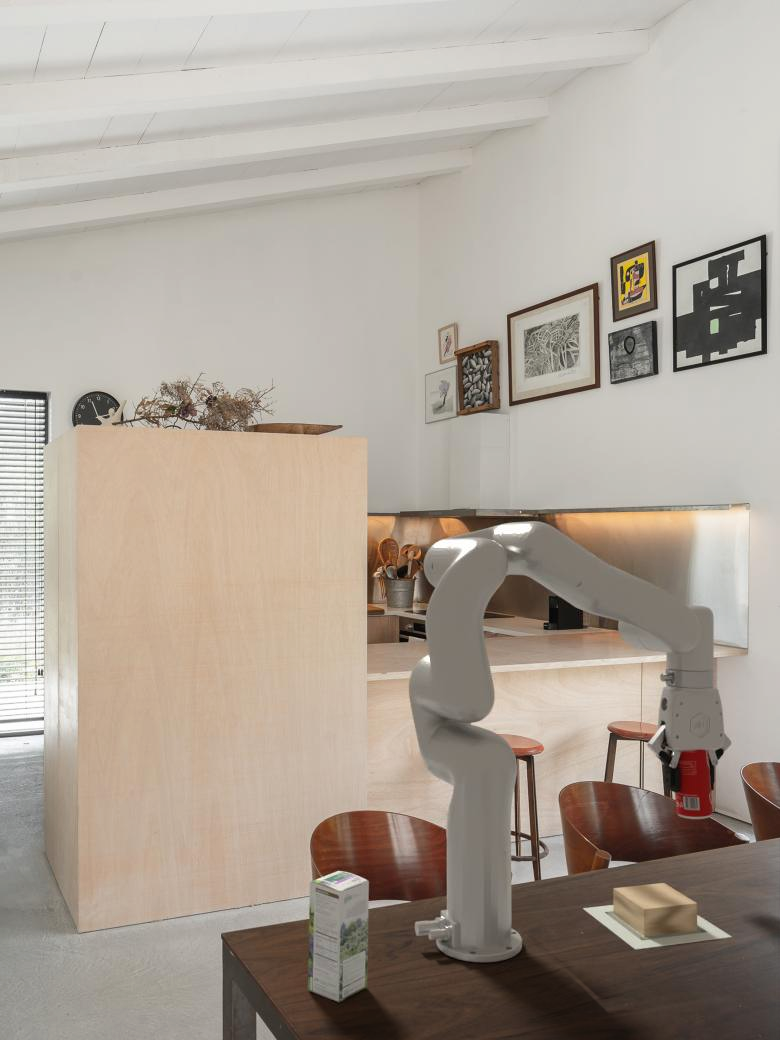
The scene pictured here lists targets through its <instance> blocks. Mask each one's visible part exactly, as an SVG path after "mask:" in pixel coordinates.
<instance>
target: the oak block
mask: <svg viewBox="0 0 780 1040" xmlns="http://www.w3.org/2000/svg"><path fill="white" fill-rule="evenodd" d="M612 891H613V893H612V894H613V895H612V896H613V897H612V898H613V899H612V900H613V904H612V905H613V912H614V915H615V916H617V917H618V918H619V919H621V920H622V921H623V922H625V923H626V924H627V925H629V926H630V927H631V928H633V929H634V930H636V931H637V932H638V933H640V934H641V935H642V936H644V937H647V936H655V935H663V934H671V933H679V932H687V931H695V930H697V915H698V903H697V902H696V901H694V900H692V899H691V898H689V897H687V895H685V894H683V893H681V892H680V891H678V890H676V889H675V888H673V887H672V886H669V884H667V883H665V882H661V883H651V884H650V883H649V884H641V885H633V886H622V887H614V888H613V890H612Z"/></svg>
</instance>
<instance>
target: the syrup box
mask: <svg viewBox="0 0 780 1040" xmlns="http://www.w3.org/2000/svg"><path fill="white" fill-rule="evenodd" d="M369 887H370V881H369V880H368V879H366V878H364V877H361V876H359V875H357V874H354V873H352V872H348V871H341V870H337V871H334V872H332V873H329V874H327V875H324V876H322V877H319V878H317V879H314V880H311V881H310V882H309V908H308V910H309V911H308V912H309V913H308V916H309V918H308V967H307V968H308V970H307V971H308V975H307V977H308V978H307V979H308V980H307V988H308V991H309V992H312V993H314V994H317V995H320V996H322V997H325V998H326V999H329V1000H333V1001H335V1002H338V1003H341V1002H343V1001H345V1000H346V999H348V998H350V997H351V996H354V995H355V994H357V993H359V992H361V991H363V990H364V989H367V987H368V966H369V965H368V963H369V961H368V960H369V959H368V957H369V956H368V954H369V953H368V952H369V904H370V903H369V900H370V899H369V896H370V895H369V894H370V893H369V890H370V888H369Z"/></svg>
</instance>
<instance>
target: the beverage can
mask: <svg viewBox="0 0 780 1040" xmlns="http://www.w3.org/2000/svg"><path fill="white" fill-rule="evenodd" d="M677 768H679V769H680V791H679V792H678V793H675V792H674V797H675V798H674V800H675V810H676V811H675V812H676V814H677V815H678V816H679V817H680V818H684V819H689V820H703V819H709V818H710V817H712V815H713V801H712V800H713V798H712V790H711V781H710V767H709V752H708V750H695V751H681V754H680V757H679V760H678V763H677Z"/></svg>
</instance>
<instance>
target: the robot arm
mask: <svg viewBox="0 0 780 1040" xmlns="http://www.w3.org/2000/svg"><path fill="white" fill-rule="evenodd" d="M423 571H424V575H425V577H426V580H427V581H428V582H429V584H430V585H432V587H434V590H433V591H432V594H431V596H430V598H429V601H428V603H427V608H426V613H425V623H424V625H425V636H426V641H427V642H426V644H427V651H428V654H426V655H424V656H423V657H422V658H421V659H419V660H417V663H416V664H414V666H413V668H412V671H411V674H410V677H409V681H408V696H409V703H410V709H411V713H412V719H413V725H414V729H415V734H416V739H417V744H418V748H419V753H420V755H421V759H422V761H423V764H424V765H425V768H427V770H428V771H429V772H430V774H431V775H433V776H434V777H435V778H437V779H439V780H441V781H443V782H445V783H447V784H450V785H451V786H452V787H453V790H452V795H451V799H450V802H449V805H448V810H447V814H446V823H445V825H446V827H445V828H446V829H445V831H446V909H443V910H440V916H439V917H437V916H436V917H434V918H435V919H434V920H420V921H415V922H414V931H415V936H417V937H418V936H419V937H420V936H428V939H429V941H433V940H435V941H436V946H437V948H438V949H439V950H440V951H441V952H442V953H443V954H445V955H446V956H449V957H451V958H453V959H456V960H460V961H464V962H469V963H470V962H472V963H494V962H501V961H504V960H508V959H511V958H513V957H515V956H517V955H518V954H519V953H520V952H521V950H522V948H523V938H522V936H521V935H520V933H519V932H518V931H517V930H515V929H514V928H512V837H511V836H512V807H513V806H512V805H513V796H514V792H515V786H516V780H517V774H518V767H517V766H518V764H517V763H518V762H517V758H516V754H515V752H514V749H513V748H512V746H511V745H510V743H509V742H508V741H507V740H506V738H504V737H503V736H501V735H500V734H498V733H496V732H494V731H493V730H489V729H486V728H483V727H482V726H481V727H480V726H478V725H473V724H472V723H478V722H481V721H483V720H484V719H486V718H487V717H488V716H489V715H490V713H491V712H492V710H493V708H494V705H495V700H496V699H495V693H496V692H495V685H494V681H493V676H492V675H493V674H492V671H491V666H490V662H489V661H490V660H489V656H488V649H487V645H486V639H485V631H484V616H485V612H486V609H487V607H488V604H489V602H490V601H491V598H492V597H493V595H495V594H496V591H497V590H498V589H499V588H500V587H501V585H502V584H503V582H504V581H505V579H506V576H510V575H513V576H516V575H517V576H526V577H529V578H530V579H532V580H533V581H535V582H537V583H538V584H540V585H542V586H543V587H544V588H546V589H547V590H549V591H551V592H552V593H553V594H555V595H556V596H558V597H559V598H561V599H563V600H564V601H566V602H567V603H569V604H570V605H572V606H573V607H574V608H576V609H579V610H582V611H584V612H587V613H589V614H591V615H595V616H598V617H602V618H606V619H611V620H614V621H618V624H617V625H618V626H617V627H618V628H617V629H618V632H619V635H620V637H621V639H622V640H623V641H624V642H625V643H626V644H628V645H629V646H631V647H633V648H635V649H639V650H643V651H644V650H646V651H652V652H661V653H666V657H665V658H666V662H665V663H666V668H665V672H664V673H660V676H659V677H660V681H661V682H665V685H666V686H663V688H662V691H661V695H660V696H661V697H660V702H659V709H658V721H657V731H656V732H655V733H654V735H653V736H652V737H651V739H650V740H649V741H648V742H647V744H646V745H647V748H648V749H649V750H650V751H651V752H652V753H653V754H655V756H656V757H657V758H658V760H659V761H660V762H661V764H662V765H664V784H665V788H666V789H667V790H668V791H671V792H673V793H674V794H675V793H678V792H679V791H680V769H679V768H677V763H678V760H679V757H680V754H681V751H695V750H708V752H709V767H710V781H711V791H714V789H715V780H716V779H715V775H716V772H715V770H716V769H715V768H716V766H718V764H719V760H720V759H721V758H722V757H723V756H724V754H725V752H726V750H727V749H729V747H730V746H731V745H732V740H731V739H730V738H729V736H727V734H726V733H725V725H724V713H723V705H722V700H721V696H720V692H719V689H718V688H715V686H714V684H715V681H714V680H715V679H714V676H715V675H714V674H715V673H714V672H715V671H714V669H715V667H714V661H715V660H714V659H715V658H714V653H715V651H714V645H715V644H714V643H715V642H714V640H715V639H714V638H715V637H714V632H715V631H714V629H715V628H714V623H715V622H714V621H715V619H714V613H713V611H712V609H711V608H710V607H707V606H704V605H702V606H701V605H686V604H685V603H684V602H682V601H681V600H679V598H677V597H676V596H674V595H673V594H671V593H669V592H668V591H666V590H664V589H663V588H661V587H659V586H657V585H655V584H653V583H651V582H649V581H647V580H644V579H642V578H640V577H638V576H635V575H633V574H631V573H629V572H627V571H625V570H622V569H621V568H618V567H616V566H613V565H611V564H610V563H607V562H605V561H604V560H603V559H600V558H599V557H597V556H596V555H595V554H593V553H592V552H590V551H589V550H587V549H586V548H585V547H583V546H582V545H580V544H579V543H577V542H576V541H574V540H573V539H572V538H570V537H569V536H567V535H566V534H564V533H563V532H561V531H560V530H559V529H557V528H556V527H554V526H552V525H550V524H548V523H545V522H542V521H537V520H536V521H535V520H533V521H531V520H530V521H517V522H515V521H514V522H507V523H501V524H499V525H494V526H490V527H487V528H483V529H478V530H475V531H471V532H466V533H461V534H458V535H455V536H450V537H446V538H443V539H440V540H438V541H437V542H435V543H434V544H432V545H431V547H429V548H428V550H427V551H426V554H425V555H424V559H423ZM661 746H663V747H665V748H664V749H663V748H662V747H661Z"/></svg>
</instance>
